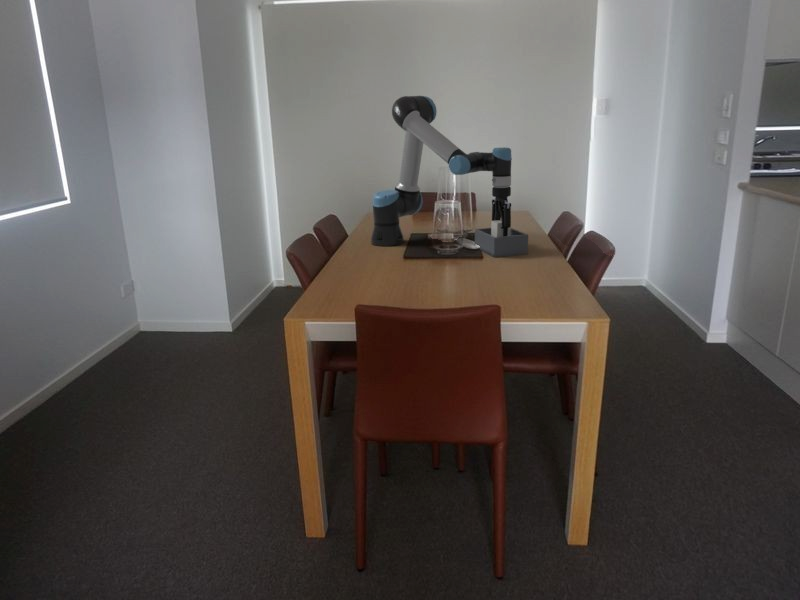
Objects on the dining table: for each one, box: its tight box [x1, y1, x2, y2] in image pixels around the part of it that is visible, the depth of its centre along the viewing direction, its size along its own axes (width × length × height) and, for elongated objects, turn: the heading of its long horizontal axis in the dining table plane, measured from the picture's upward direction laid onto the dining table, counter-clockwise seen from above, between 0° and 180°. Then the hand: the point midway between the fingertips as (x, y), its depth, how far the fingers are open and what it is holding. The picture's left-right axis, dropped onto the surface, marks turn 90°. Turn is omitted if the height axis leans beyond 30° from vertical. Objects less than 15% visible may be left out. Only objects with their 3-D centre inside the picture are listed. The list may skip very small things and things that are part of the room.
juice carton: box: [490, 219, 512, 237], centre depth 250 cm, size 6×6×10 cm
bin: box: [474, 227, 529, 258], centre depth 252 cm, size 20×15×8 cm
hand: (500, 241), depth 252 cm, fingers closed on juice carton, 6 cm apart
